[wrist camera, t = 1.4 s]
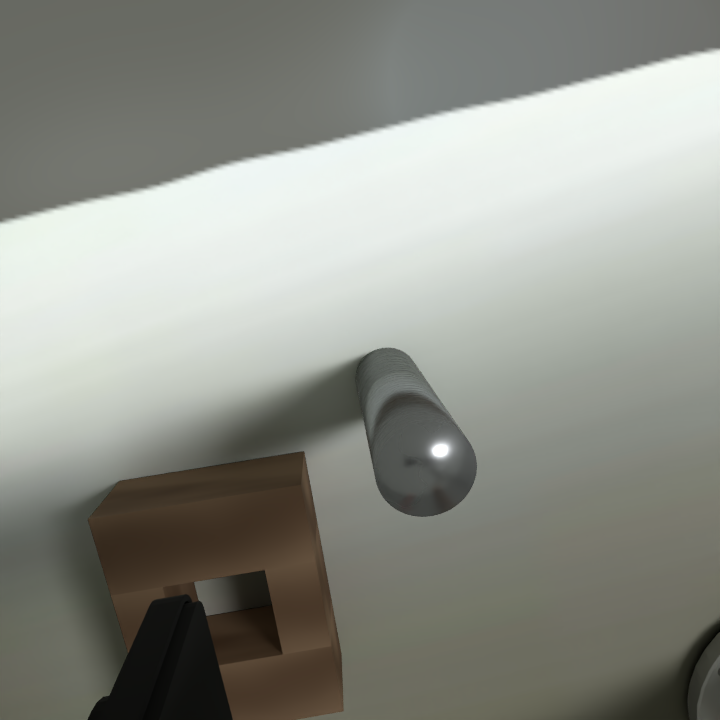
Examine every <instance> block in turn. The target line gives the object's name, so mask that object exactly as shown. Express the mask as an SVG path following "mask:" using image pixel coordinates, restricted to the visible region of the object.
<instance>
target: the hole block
mask: <svg viewBox="0 0 720 720" xmlns="http://www.w3.org/2000/svg"><path fill="white" fill-rule="evenodd" d="M88 522H89V525H90V528H91V532H92V535H93V538H94V542H95V545H96V548H97V552H98V555H99V558H100V561H101V565H102V568H103V571H104V575H105V578H106V581H107V585H108V588H109V591H110V595H111V598H112V601H113V605H114V608H115V611H116V614H117V618H118V621H119V624H120V628H121V631H122V634H123V638H124V641H125V644H126V648H127V651H128V653H129V650H130V648H131V646H132V644H133V641H134V639H135V637H136V635H137V632H138V630H139V628H140V626H141V623H142V621H143V619H144V617H145V614H146V612H147V610H148V608H149V606H150V604H151V602H152V601H154V600H156V599H161V598H167V597H173V596H178V595H184V594H187V595H189V596H190V597H191V599H192V602H197V601H198V597H197V593H196V589H195V585H194V582H196V581H202V580H208V579H214V578H220V577H226V576H232V575H238V574H244V573H250V572H256V571H262V570H265V574H266V578H267V583H268V588H269V592H270V597H271V601H272V605H271V606H265V607H259V608H253V609H247V610H241V611H235V612H230V613H224V614H218V615H212V616H206V618H207V622H208V626H209V629H210V633H211V637H212V641H213V645H214V649H215V653H216V656H217V660H218V664H219V668H220V672H221V676H222V680H223V683H224V687H225V691H226V695H227V699H228V703H229V707H230V710H231V714H232V718H233V720H296V719H302V718H308V717H313V716H319V715H325V714H330V713H336V712H342V711H344V709H343V683H342V657H341V649H340V644H339V639H338V633H337V628H336V622H335V617H334V611H333V606H332V600H331V595H330V590H329V584H328V579H327V573H326V568H325V562H324V557H323V551H322V546H321V541H320V535H319V530H318V524H317V519H316V513H315V508H314V502H313V497H312V491H311V486H310V481H309V475H308V470H307V464H306V459H305V453H304V451H303V452H297V453H291V454H285V455H278V456H272V457H266V458H260V459H253V460H247V461H241V462H235V463H229V464H222V465H216V466H210V467H204V468H197V469H191V470H185V471H179V472H173V473H166V474H160V475H154V476H148V477H141V478H135V479H129V480H123V481H119V482H118V483H117V485H116V486H115V487H114V488H113V489H112V491H111V492H110V493H109V494H108V496H107V497H106V498H105V499H104V500H103V502H102V503H101V504H100V505H99V506H98V508H97V509H96V510H95V511H94V512H93V514H92V515H91V516H90V517H89V518H88Z"/></svg>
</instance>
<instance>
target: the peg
mask: <svg viewBox="0 0 720 720" xmlns="http://www.w3.org/2000/svg"><path fill="white" fill-rule="evenodd" d="M356 386H357V391H358V396H359V401H360V405H361V410H362V415H363V420H364V425H365V430H366V435H367V440H368V444H369V449H370V454H371V459H372V464H373V469H374V474H375V479H376V483H377V486H378V489H379V491H380V493H381V495H382V496H383V498H384V499H385V500H386V501H387V502H388V503H389V504H390V505H391V506H392V507H394V508H395V509H397V510H398V511H400V512H403V513H405V514H408V515H412V516H420V517H426V516H434V515H438V514H441V513H444V512H446V511H448V510H450V509H452V508H453V507H455V506H456V505H457V504H459V503H460V502H461V501H462V500H463V499H464V498H465V497H466V495H467V494H468V493H469V491H470V489H471V487H472V485H473V483H474V480H475V476H476V470H477V462H476V456H475V453H474V450H473V448H472V446H471V444H470V443H469V441H468V440H467V438H466V437H465V435H464V434H463V432H462V431H461V430H460V428H459V427H458V425H457V424H456V422H455V421H454V419H453V418H452V416H451V415H450V414H449V412H448V411H447V409H446V408H445V406H444V405H443V403H442V402H441V401H440V399H439V398H438V396H437V395H436V393H435V392H434V390H433V389H432V387H431V386H430V385H429V383H428V382H427V380H426V379H425V377H424V376H423V374H422V373H421V371H420V370H419V369H418V367H417V366H416V364H415V363H414V361H413V360H412V359H411V357H410V356H408V355H407V354H406V353H404V352H403V351H401V350H398V349H395V348H381V349H377V350H375V351H373V352H371V353H369V354H368V355H367V356H366V357H365V358H364V359H363V360H362V361H361V363H360V364H359V366H358V369H357V372H356Z"/></svg>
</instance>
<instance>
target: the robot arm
mask: <svg viewBox="0 0 720 720" xmlns="http://www.w3.org/2000/svg"><path fill="white" fill-rule="evenodd" d="M687 704H688V714H689V719H690V720H720V632H719V633H718V634H717V635H716V636H715V637H714V639H713V640H712V641H711V642H710V644H709V645H708V646H707V647H706V649H705V650H704V652H703V654H702V655H701V657H700V659H699V661H698V663H697V664H696V666H695V669H694V672H693V675H692V678H691V681H690V684H689V691H688V699H687ZM88 720H233V718H232V714H231V710H230V707H229V703H228V699H227V695H226V691H225V687H224V683H223V680H222V676H221V672H220V668H219V664H218V660H217V656H216V653H215V649H214V645H213V641H212V637H211V633H210V629H209V626H208V622H207V618H206V614H205V610H204V607H203V604H202V603H201V602H200V601H197V602H192V599H191V597H190V596H189V595H187V594H184V595H178V596H173V597H167V598H161V599H156V600H154V601H152V602H151V604H150V606H149V608H148V610H147V612H146V614H145V617H144V619H143V621H142V623H141V626H140V628H139V630H138V632H137V635H136V637H135V639H134V641H133V644H132V646H131V648H130V650H129V653H128V655H127V657H126V660H125V662H124V664H123V666H122V669H121V671H120V673H119V675H118V678H117V680H116V682H115V684H114V687H113V689H112V691H111V693H110V696H106V697H103V698H101V699H100V700H99V701H98V702H97V703H96V705H95V706H94V708H93V710H92V711H91V713H90V716H89V718H88Z"/></svg>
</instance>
